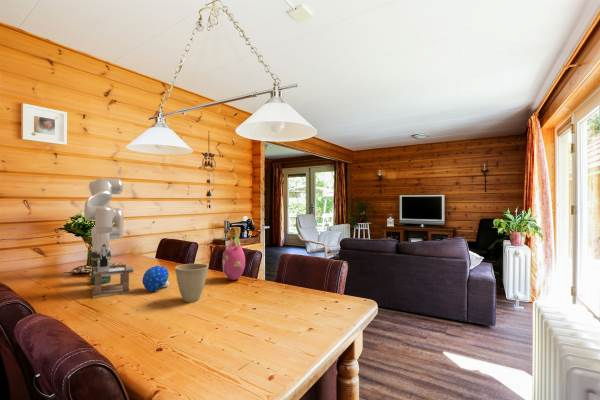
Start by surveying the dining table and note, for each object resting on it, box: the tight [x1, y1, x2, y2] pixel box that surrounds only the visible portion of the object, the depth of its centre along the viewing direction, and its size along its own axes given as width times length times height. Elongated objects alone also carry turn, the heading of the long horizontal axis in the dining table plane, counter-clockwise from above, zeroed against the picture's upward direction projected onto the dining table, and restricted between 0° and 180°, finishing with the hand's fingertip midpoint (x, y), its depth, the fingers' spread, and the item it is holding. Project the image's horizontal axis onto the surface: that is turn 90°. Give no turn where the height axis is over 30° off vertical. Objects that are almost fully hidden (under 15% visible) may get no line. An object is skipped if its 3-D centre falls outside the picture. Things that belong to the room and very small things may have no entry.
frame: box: [92, 263, 131, 299], centre depth 160 cm, size 20×16×12 cm
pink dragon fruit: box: [221, 229, 246, 281], centre depth 184 cm, size 18×14×30 cm
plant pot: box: [175, 263, 209, 303], centre depth 147 cm, size 15×15×16 cm
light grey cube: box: [98, 260, 109, 272], centre depth 159 cm, size 5×5×5 cm
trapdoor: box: [97, 266, 134, 276], centre depth 161 cm, size 12×16×2 cm
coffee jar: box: [89, 250, 112, 286], centre depth 175 cm, size 10×8×19 cm
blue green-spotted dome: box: [141, 265, 170, 292], centre depth 163 cm, size 14×14×15 cm
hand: (103, 265), depth 159 cm, fingers open, 5 cm apart
